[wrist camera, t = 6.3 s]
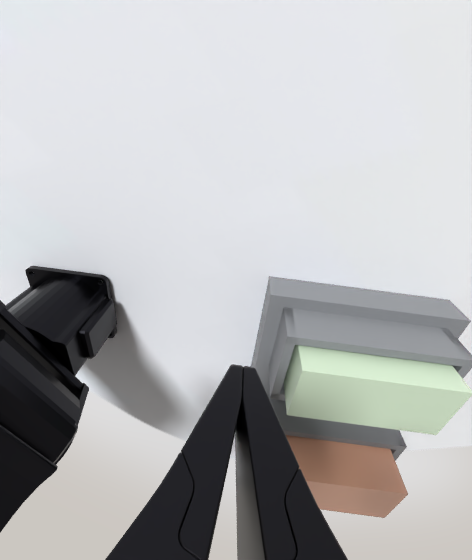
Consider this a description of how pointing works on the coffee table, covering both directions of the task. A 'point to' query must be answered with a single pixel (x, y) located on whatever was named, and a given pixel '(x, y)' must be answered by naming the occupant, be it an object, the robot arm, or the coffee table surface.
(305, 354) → the sage button
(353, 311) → the button panel
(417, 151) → the coffee table surface
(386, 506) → the orange brown block
